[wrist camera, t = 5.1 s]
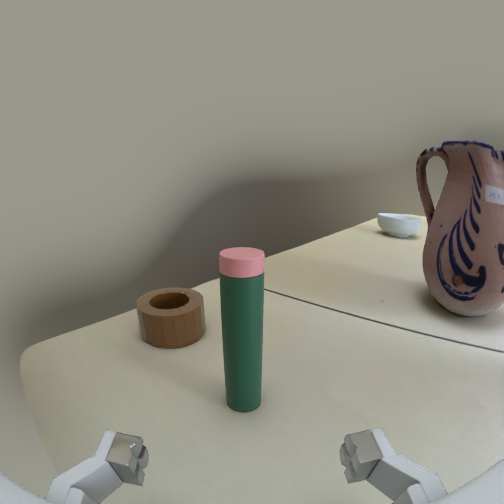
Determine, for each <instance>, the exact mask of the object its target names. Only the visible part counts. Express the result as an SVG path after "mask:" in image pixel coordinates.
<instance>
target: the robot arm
mask: <svg viewBox="0 0 504 504" xmlns="http://www.w3.org/2000/svg"><path fill="white" fill-rule="evenodd" d="M344 442H345V443H344V444H343V445H341V448H340V460H341V464H342V465H344V466H345V467H346V469H345V471H344V473H345V476H346V479H347V482H348V484H349V483H353V482H358V481H362V480H366V479H367V481H368V482H369V483H371V484H372V485H373V486H374V487H376V488H377V489H378V490H380V491H381V492H382V493H384V494H385V495H386V496H388V497H389V498H390V499H392V500H393V501H394V502H393V503H392V504H504V459H502V460H500V461H498V462H497V463H495V464H494V465H493V466H491V467H490V468H489V469H487V470H486V471H484V472H483V473H481V474H480V475H478V476H477V477H475V478H474V479H472V480H471V481H469V482H468V483H466V484H464V485H463V486H461V487H459V488H458V489H456V490H454V491H452V492H451V493H449V494H447V492H446V490H445V488H444V486H443V484H442V482H441V481H440V479H439V477H438V475H437V474H436V473H434V472H432V471H430V470H428V469H426V468H424V467H422V466H420V465H418V464H417V463H415V462H413V461H411V460H409V459H407V458H405V457H404V456H402V455H400V454H395V453H394V451H393V449H392V447H391V445H390V443H389V441H388V439H387V437H386V435H385V433H384V431H383V430H382V429H381V428H375V429H371V430H366V431H362V432H358V433H353V434H348V435H346V436H345V438H344ZM148 456H149V455H148V450H147V448H146V447H145V446H144V445H143V440H142V438H141V437H138V436H133V435H128V434H123V433H119V432H114V431H110V430H107V431H106V432H105V433H104V435H103V437H102V439H101V441H100V444H99V446H98V448H97V451H96V453H95V455H94V457H89V458H87V459H86V460H84V461H82V462H81V463H79V464H77V465H76V466H74V467H72V468H71V469H69V470H67V471H65V472H64V473H62V474H60V475H58V476H56V477H55V478H54V479H53V481H52V483H51V485H50V488H49V490H48V492H47V494H46V496H45V499H44V498H42V497H40V496H38V495H36V494H34V493H33V492H31V491H29V490H27V489H26V488H24V487H22V486H21V485H19V484H18V483H16V482H14V481H13V480H11V479H10V478H8V477H7V476H5V475H4V474H2V473H1V472H0V504H99V503H101V502H102V501H103V500H104V499H105V498H107V497H108V496H109V495H110V494H111V493H113V492H114V491H115V490H116V489H117V488H118V487H120V486H121V485H122V484H123V482H125V483H130V484H135V485H140V486H142V484H143V480H144V476H145V473H144V472H143V469H144V468H145V467H147V464H148Z"/></svg>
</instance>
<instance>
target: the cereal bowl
mask: <svg viewBox="0 0 504 504" xmlns="http://www.w3.org/2000/svg"><path fill="white" fill-rule="evenodd" d="M378 224H379V226H380V228H381V229H383V230H384V231H386V232H387V234H388V235H391V236H395V237H408V236H409V235H412V234H415V233H416V232H418V230H419V229H420V226H421V219H419V218H415V217H411V216H405V215H397V214H386V213H379V214H378Z"/></svg>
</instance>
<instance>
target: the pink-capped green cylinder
mask: <svg viewBox="0 0 504 504" xmlns="http://www.w3.org/2000/svg"><path fill="white" fill-rule="evenodd" d="M219 266H220V267H219V268H220V296H221V318H222V338H223V355H224V371H225V386H226V399H227V404H228V405H229V407H230V408H232V409H233V410H236V411H239V412H248V411H252V410H254V409H256V408H257V407H258V406H259V404H260V402H261V377H262V343H263V302H264V252H263V251H261V250H259V249H255V248H248V247H236V248H229V249H225V250H223V251H221V252H220V253H219Z"/></svg>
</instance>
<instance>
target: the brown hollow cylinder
mask: <svg viewBox="0 0 504 504" xmlns="http://www.w3.org/2000/svg"><path fill="white" fill-rule="evenodd" d="M136 309H137V315H138V320H139V325H140V331H141V334H142V337H143V339H144V340H145V341H146V342H147V343H149V344H150V345H153V346H156V347H160V348H179V347H184V346H187V345H190V344H192V343H195V342H196V341H198V340H199V339H200V338H201V337H202V336H203V335H204V333H205V317H204V303H203V296H202V295H201V294H200V293H199V292H197V291H195V290H192V289H187V288H176V287H175V288H164V289H158V290H154V291H151V292H148V293H146V294H144V295H142V296H141V297H140V298H139V299H138V300H137V302H136Z"/></svg>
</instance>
